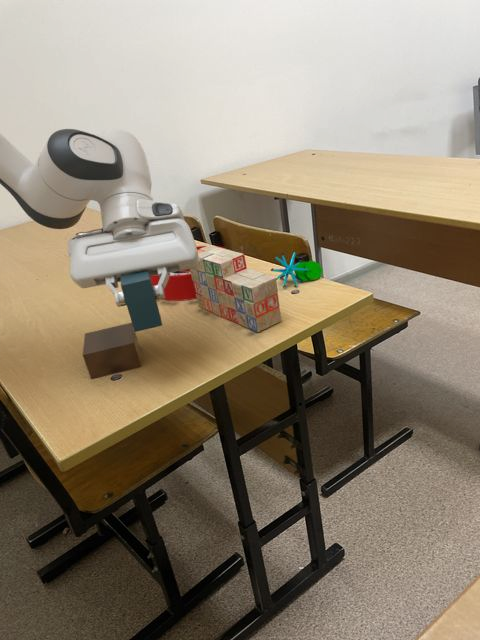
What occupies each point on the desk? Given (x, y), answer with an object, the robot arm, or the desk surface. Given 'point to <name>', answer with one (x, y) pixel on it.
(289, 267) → the stick construction toy
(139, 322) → the teal block
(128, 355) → the walnut block
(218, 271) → the stack of blocks
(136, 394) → the desk surface
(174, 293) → the toy clock
